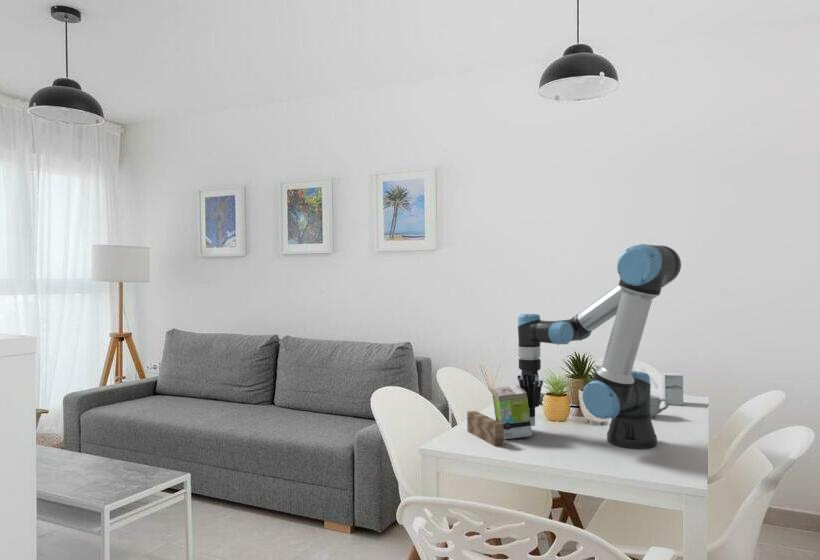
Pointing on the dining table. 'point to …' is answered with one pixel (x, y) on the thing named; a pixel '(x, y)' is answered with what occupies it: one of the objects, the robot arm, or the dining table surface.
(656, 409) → the teacup
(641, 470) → the dining table surface
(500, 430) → the walnut board
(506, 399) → the tea box
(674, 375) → the supplement box
